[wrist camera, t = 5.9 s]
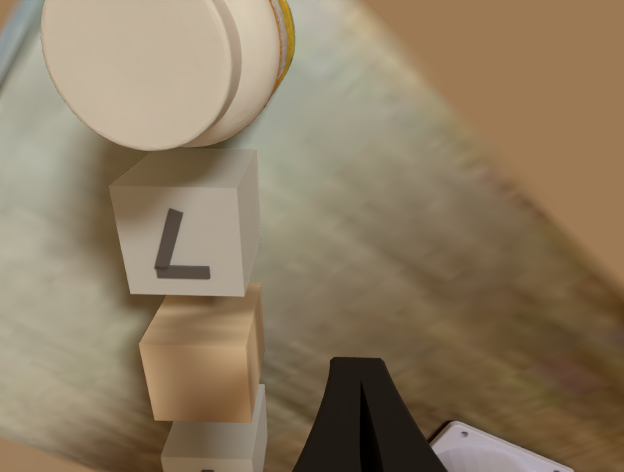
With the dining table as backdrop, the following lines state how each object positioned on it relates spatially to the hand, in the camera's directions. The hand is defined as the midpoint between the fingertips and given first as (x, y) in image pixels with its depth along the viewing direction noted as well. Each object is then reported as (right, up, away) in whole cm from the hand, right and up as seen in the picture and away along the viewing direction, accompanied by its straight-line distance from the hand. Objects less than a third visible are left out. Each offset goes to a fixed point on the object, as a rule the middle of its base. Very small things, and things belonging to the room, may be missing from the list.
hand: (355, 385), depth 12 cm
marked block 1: (-6, -7, +15) cm, 18 cm away
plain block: (-6, 0, +12) cm, 14 cm away
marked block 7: (-6, +6, +9) cm, 12 cm away
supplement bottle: (-4, +12, +6) cm, 14 cm away
